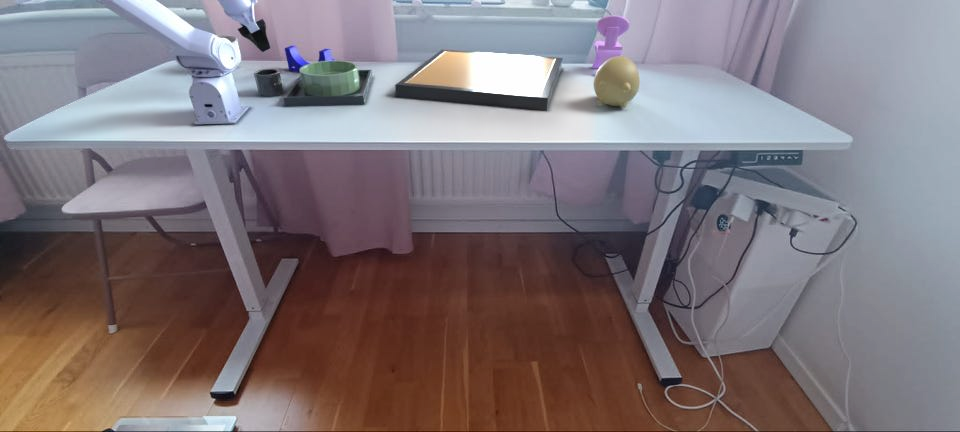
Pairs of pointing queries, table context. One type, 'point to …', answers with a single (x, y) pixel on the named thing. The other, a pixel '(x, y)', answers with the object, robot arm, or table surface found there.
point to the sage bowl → (330, 78)
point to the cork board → (484, 79)
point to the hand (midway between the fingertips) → (259, 40)
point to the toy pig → (616, 82)
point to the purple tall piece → (609, 38)
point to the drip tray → (302, 99)
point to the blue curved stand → (297, 61)
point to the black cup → (269, 82)
